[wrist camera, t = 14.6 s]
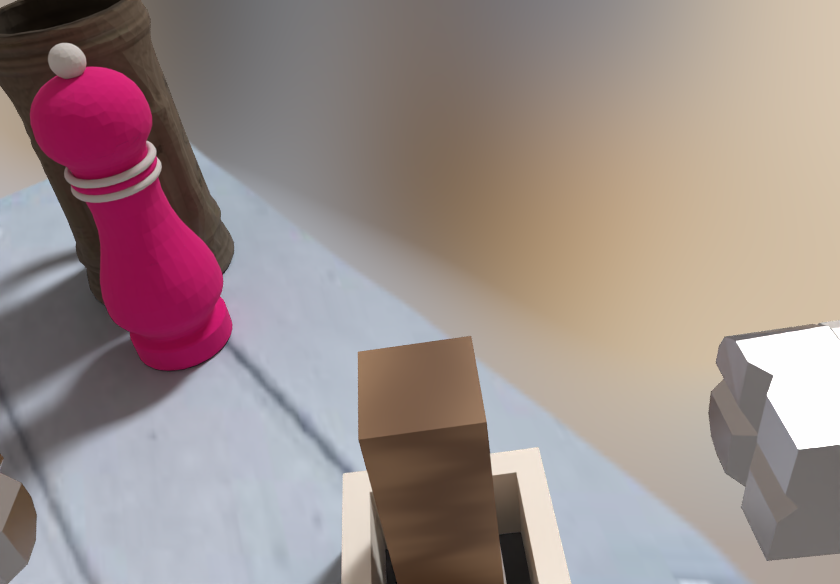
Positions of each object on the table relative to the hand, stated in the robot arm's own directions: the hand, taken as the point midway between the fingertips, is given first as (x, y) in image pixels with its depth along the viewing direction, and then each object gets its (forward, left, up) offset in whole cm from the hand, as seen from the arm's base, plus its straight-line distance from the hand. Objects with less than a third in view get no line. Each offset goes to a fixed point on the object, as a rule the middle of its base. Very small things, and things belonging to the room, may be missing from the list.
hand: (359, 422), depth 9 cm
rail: (0, +12, -26) cm, 28 cm away
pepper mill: (-16, +33, -26) cm, 45 cm away
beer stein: (-20, +44, -26) cm, 55 cm away
